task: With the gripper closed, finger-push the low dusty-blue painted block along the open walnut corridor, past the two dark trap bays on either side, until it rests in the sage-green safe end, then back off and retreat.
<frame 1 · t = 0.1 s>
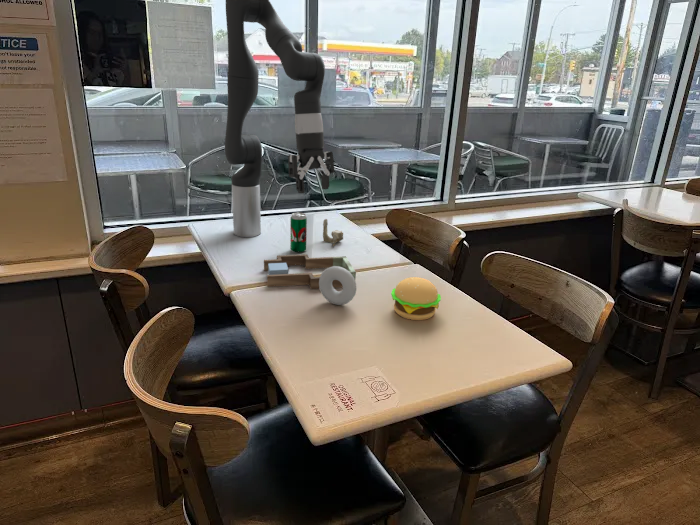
hand: (313, 191, 139), 22 cm above the table, tool pointing down, fingers open, 8 cm apart
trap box: (308, 275, 139), on the table
bone: (334, 243, 166), on the table
block: (278, 278, 137), on the table
donut: (336, 304, 124), on the table
toy cheeseburger: (414, 312, 122), on the table
soda can: (298, 251, 158), on the table
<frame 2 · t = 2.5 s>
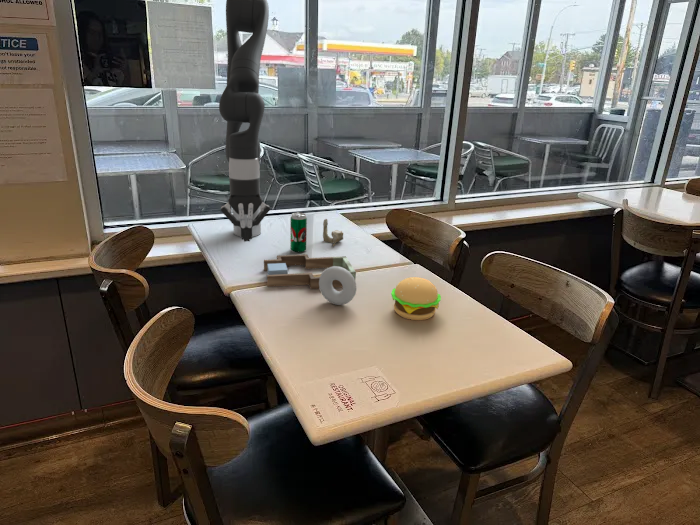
hand: (246, 240, 131), 11 cm above the table, tool pointing down, fingers closed
nothing on the table moved.
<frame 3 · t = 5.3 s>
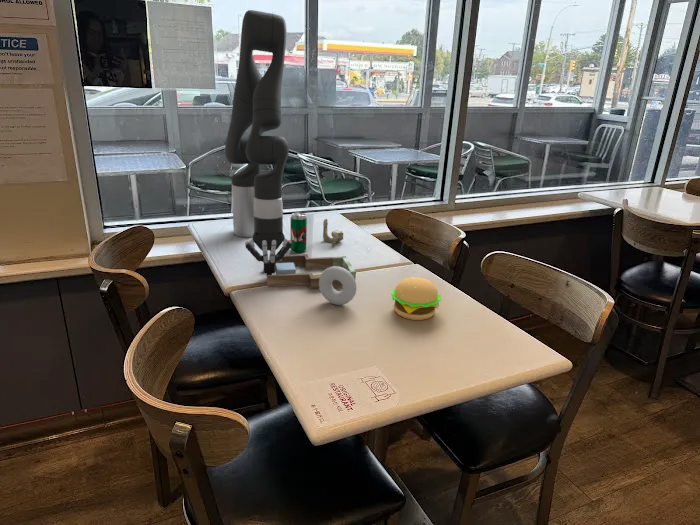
hand: (269, 274, 136), 1 cm above the table, tool pointing down, fingers closed
block: (285, 277, 137), on the table
everything else where it was.
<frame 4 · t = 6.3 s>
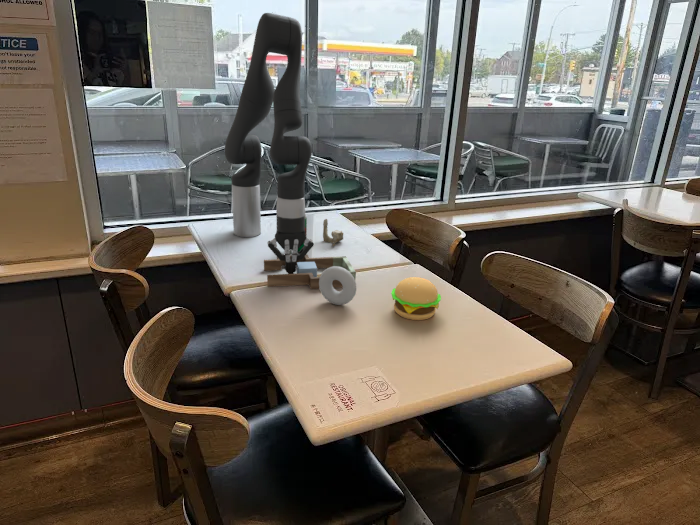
hand: (290, 273, 137), 1 cm above the table, tool pointing down, fingers closed
block: (306, 276, 139), on the table, touching gripper
everything else where it was.
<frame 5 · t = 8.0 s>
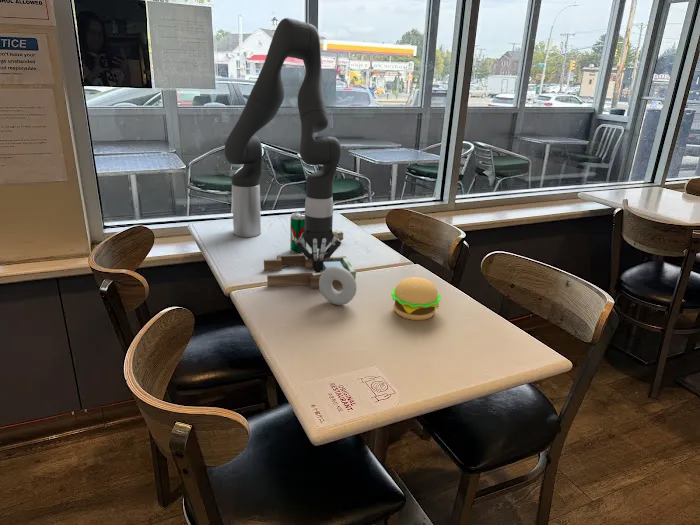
hand: (317, 271, 139), 1 cm above the table, tool pointing down, fingers closed
block: (332, 276, 141), on the table
everything else where it was.
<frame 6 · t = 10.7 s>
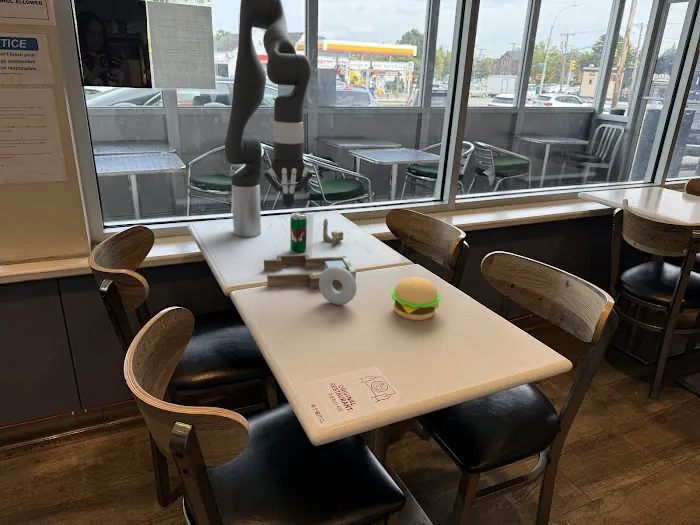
hand: (287, 206, 130), 20 cm above the table, tool pointing down, fingers closed
nothing on the table moved.
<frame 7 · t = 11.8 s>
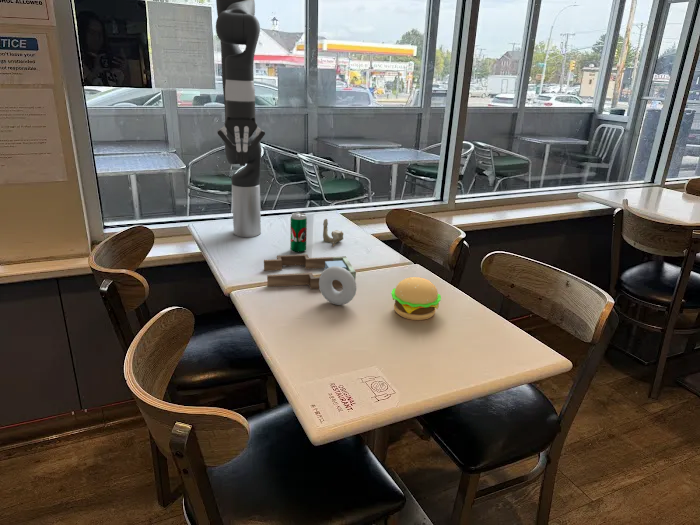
hand: (242, 165, 135), 29 cm above the table, tool pointing down, fingers closed
nothing on the table moved.
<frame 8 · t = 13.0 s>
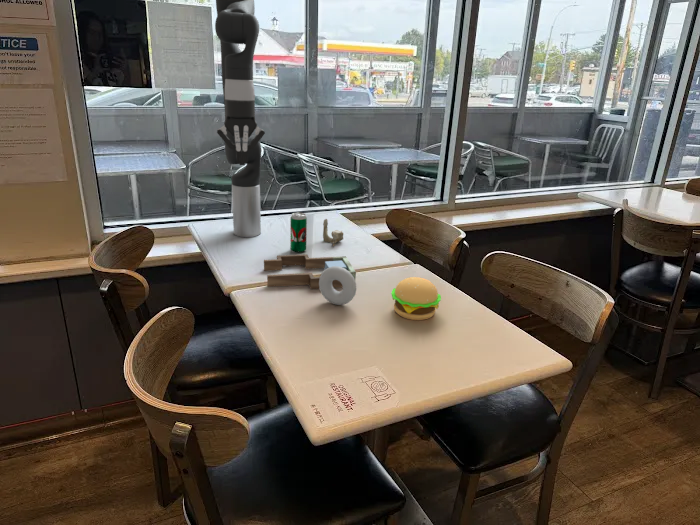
hand: (242, 164, 135), 29 cm above the table, tool pointing down, fingers closed
nothing on the table moved.
at the end: block inside the target area (0.5 cm from its centre), on the table; block tilted 0°; block touching table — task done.
